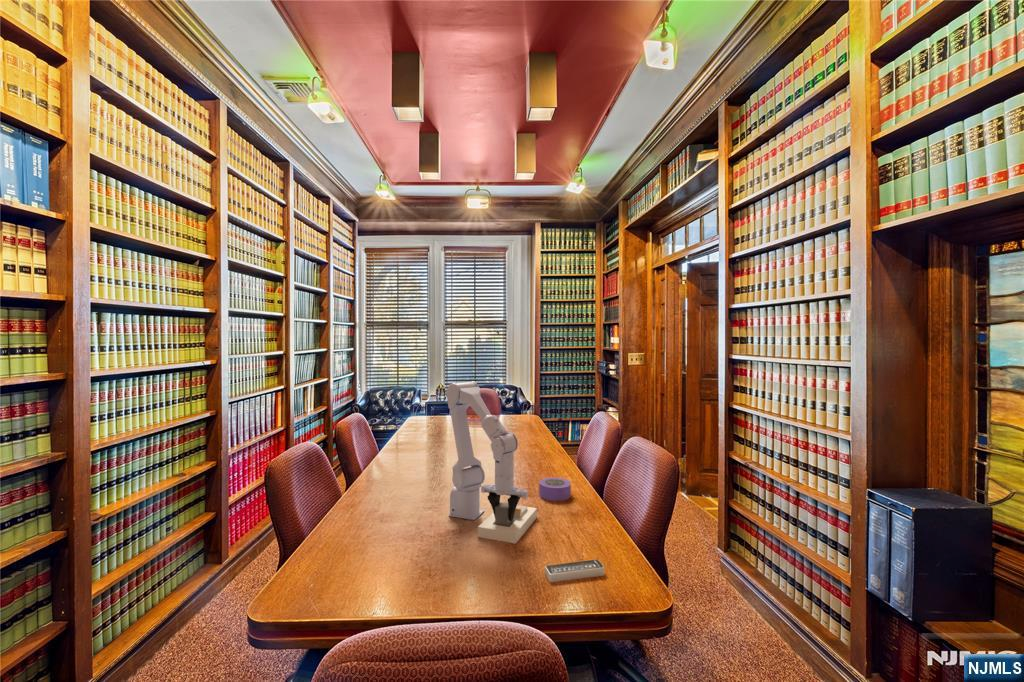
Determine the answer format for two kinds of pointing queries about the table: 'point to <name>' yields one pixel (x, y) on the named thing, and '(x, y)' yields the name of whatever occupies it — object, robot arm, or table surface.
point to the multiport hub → (574, 570)
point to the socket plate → (507, 533)
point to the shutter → (520, 511)
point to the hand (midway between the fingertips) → (504, 518)
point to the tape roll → (554, 489)
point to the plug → (502, 515)
